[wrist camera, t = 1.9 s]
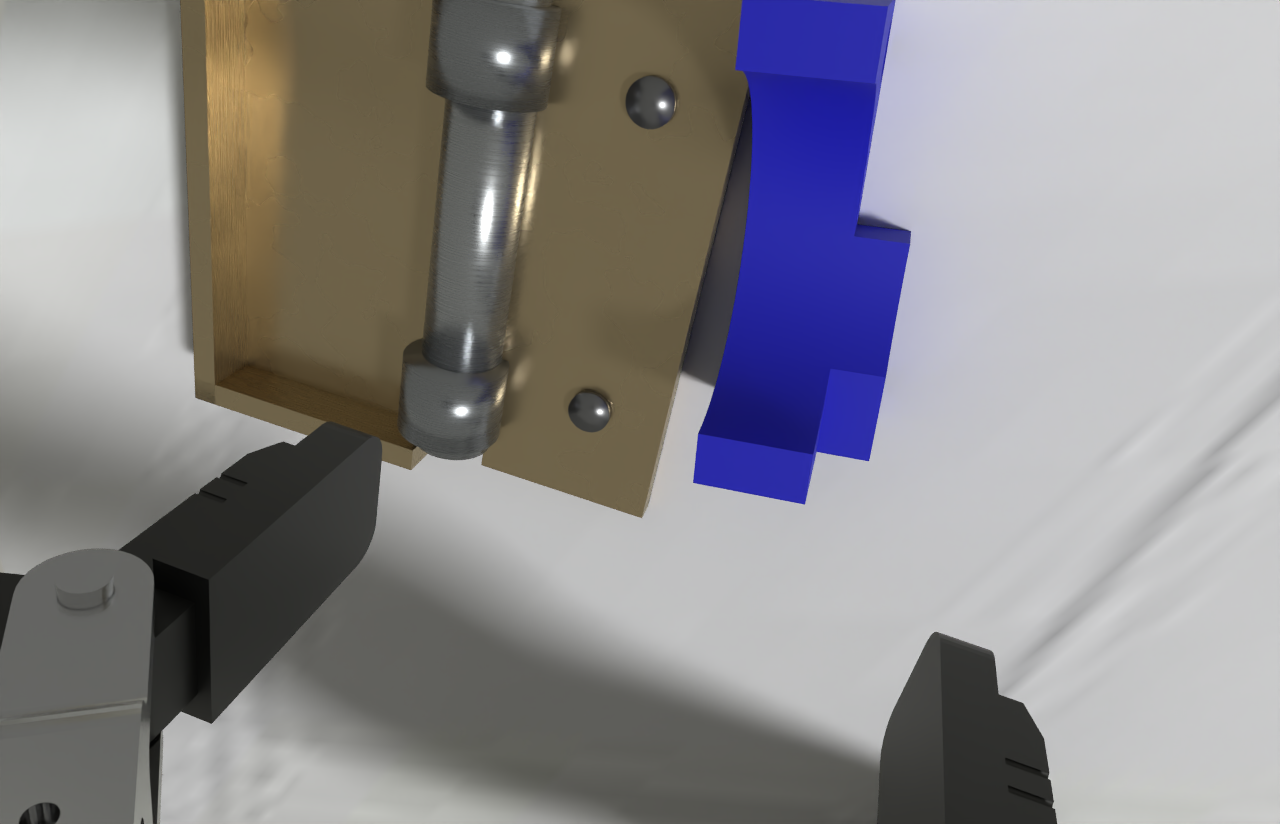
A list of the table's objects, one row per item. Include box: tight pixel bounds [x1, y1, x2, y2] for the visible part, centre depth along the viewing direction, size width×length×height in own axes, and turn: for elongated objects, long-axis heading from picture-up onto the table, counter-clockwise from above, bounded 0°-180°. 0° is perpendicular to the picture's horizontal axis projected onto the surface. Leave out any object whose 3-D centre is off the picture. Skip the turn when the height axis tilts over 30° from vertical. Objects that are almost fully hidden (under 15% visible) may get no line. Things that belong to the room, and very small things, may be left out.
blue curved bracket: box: [693, 0, 911, 504], centre depth 24 cm, size 12×4×6 cm, turn 176°
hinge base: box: [180, 0, 750, 518], centre depth 28 cm, size 16×17×3 cm
